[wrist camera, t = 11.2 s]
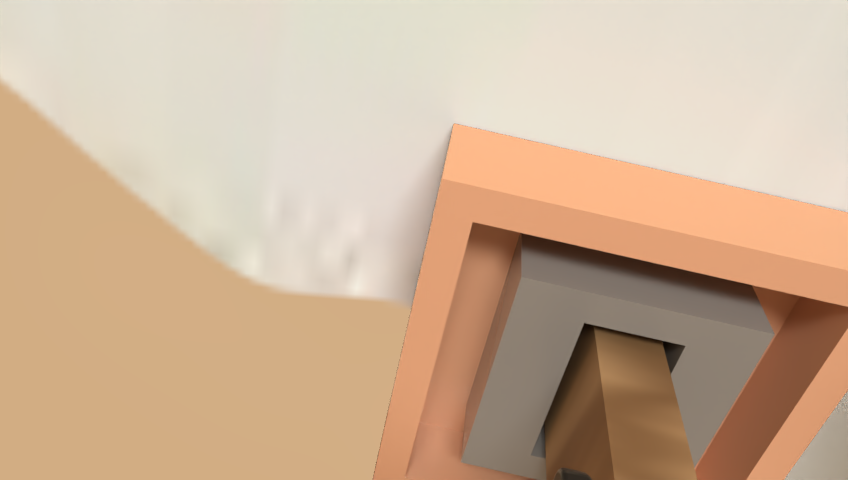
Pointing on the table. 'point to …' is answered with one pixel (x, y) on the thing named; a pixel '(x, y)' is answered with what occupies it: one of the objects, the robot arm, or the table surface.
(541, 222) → the candle dish
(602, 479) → the wooden block
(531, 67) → the table surface
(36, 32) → the table surface
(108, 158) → the table surface
